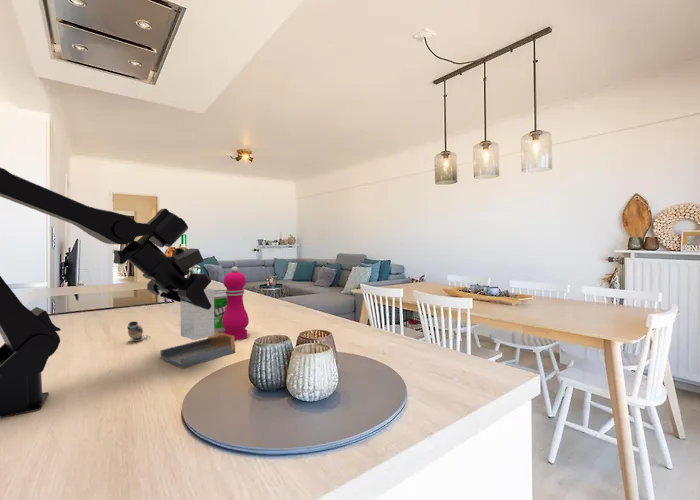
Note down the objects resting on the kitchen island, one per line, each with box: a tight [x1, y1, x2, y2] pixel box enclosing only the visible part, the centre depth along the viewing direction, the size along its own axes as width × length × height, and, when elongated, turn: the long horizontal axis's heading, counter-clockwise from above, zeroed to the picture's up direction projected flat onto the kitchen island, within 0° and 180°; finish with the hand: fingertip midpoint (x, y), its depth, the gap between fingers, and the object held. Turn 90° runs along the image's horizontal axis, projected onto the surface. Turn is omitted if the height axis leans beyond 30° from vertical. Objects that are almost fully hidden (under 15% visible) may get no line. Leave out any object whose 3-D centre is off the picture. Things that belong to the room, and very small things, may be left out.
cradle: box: [159, 331, 236, 369], centre depth 83 cm, size 13×10×4 cm
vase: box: [127, 321, 151, 342], centre depth 94 cm, size 5×5×6 cm
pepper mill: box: [222, 266, 250, 341], centre depth 97 cm, size 7×7×20 cm
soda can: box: [214, 289, 227, 333], centre depth 105 cm, size 8×8×12 cm
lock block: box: [179, 287, 215, 341], centre depth 82 cm, size 5×6×11 cm
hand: (202, 306), depth 83 cm, fingers closed on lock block, 6 cm apart
